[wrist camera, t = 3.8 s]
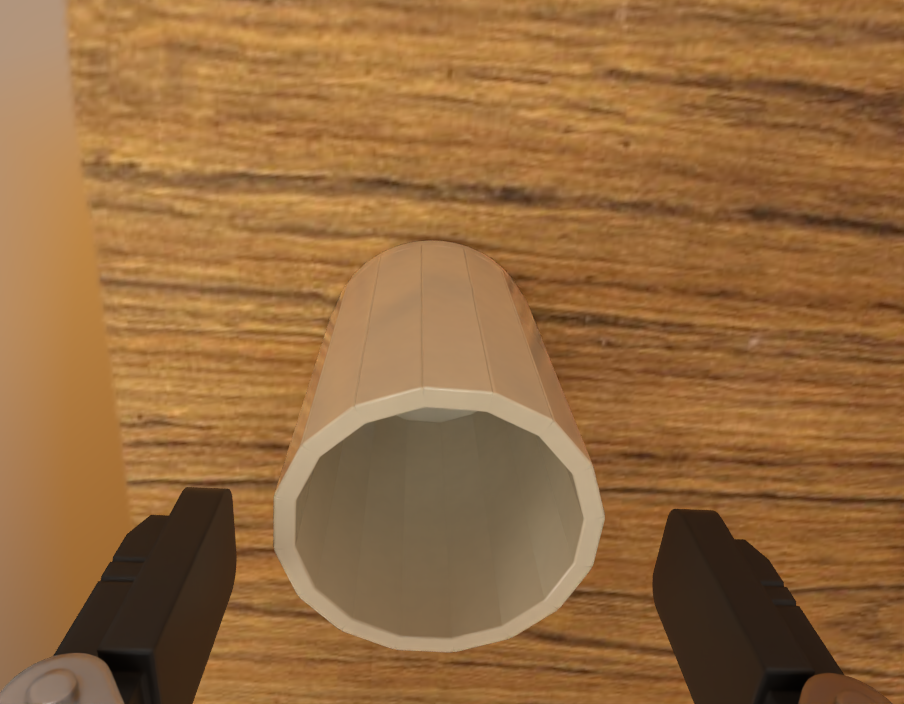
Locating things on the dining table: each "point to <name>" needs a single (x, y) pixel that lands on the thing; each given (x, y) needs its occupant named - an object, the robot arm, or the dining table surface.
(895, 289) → the dining table surface
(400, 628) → the cup
